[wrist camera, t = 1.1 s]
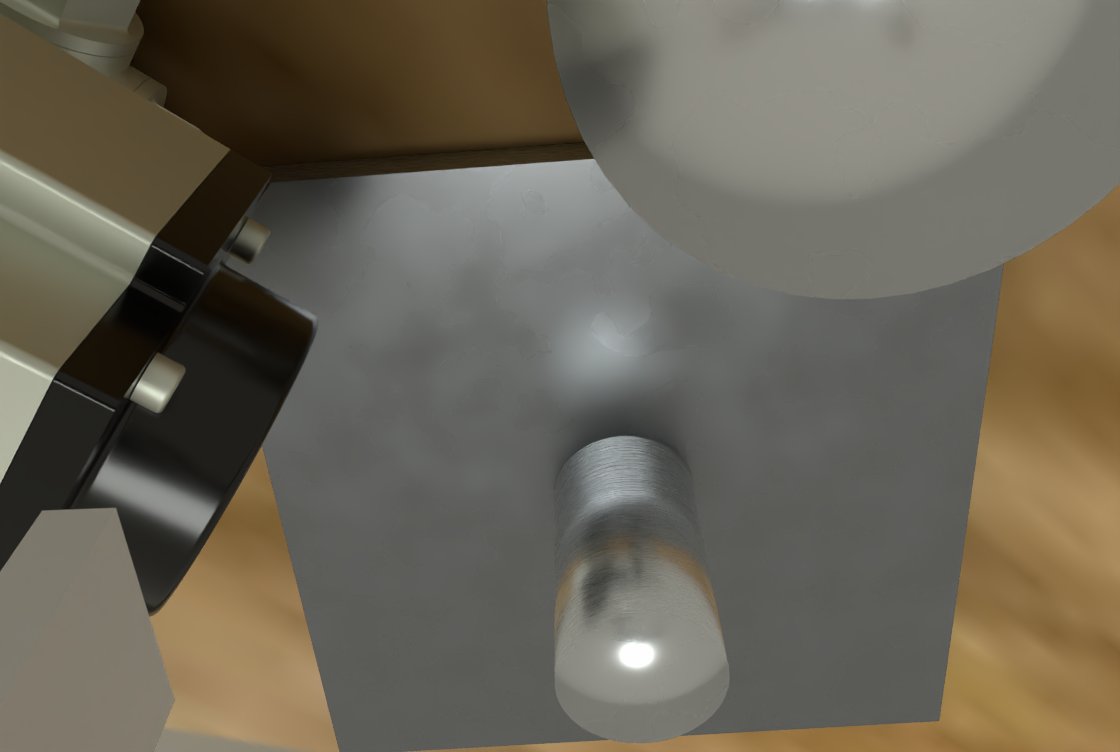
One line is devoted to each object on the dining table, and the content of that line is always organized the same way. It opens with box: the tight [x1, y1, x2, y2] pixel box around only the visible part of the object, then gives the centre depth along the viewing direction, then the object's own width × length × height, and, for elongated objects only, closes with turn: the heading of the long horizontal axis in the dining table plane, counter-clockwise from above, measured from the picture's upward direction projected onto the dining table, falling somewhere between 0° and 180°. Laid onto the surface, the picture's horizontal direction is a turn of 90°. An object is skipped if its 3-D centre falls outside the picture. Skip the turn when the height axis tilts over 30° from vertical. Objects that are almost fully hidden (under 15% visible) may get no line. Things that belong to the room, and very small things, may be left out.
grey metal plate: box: [226, 142, 1004, 752], centre depth 31 cm, size 22×22×10 cm
